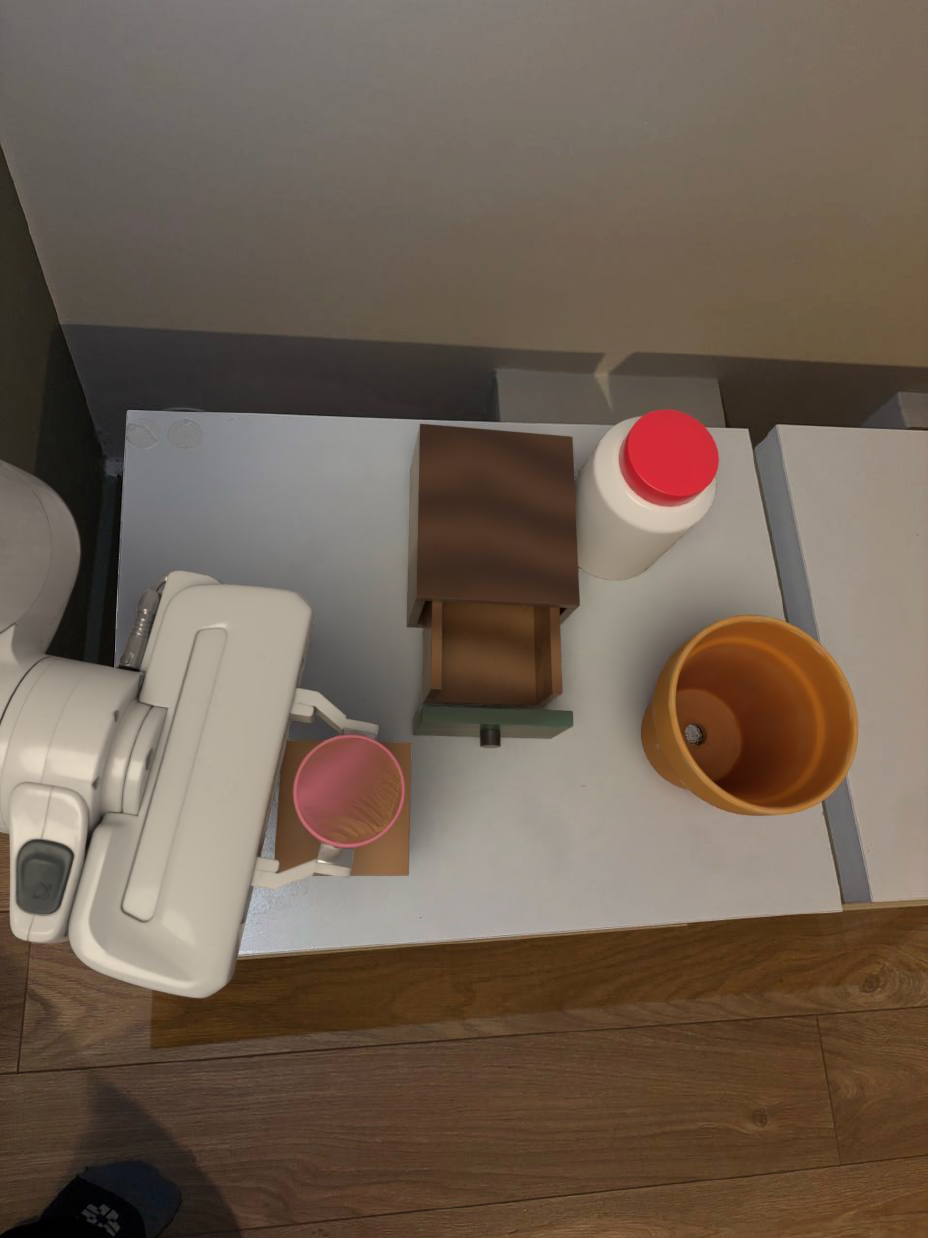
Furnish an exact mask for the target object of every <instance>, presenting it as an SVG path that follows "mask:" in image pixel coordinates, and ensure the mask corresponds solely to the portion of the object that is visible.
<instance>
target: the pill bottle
mask: <svg viewBox="0 0 928 1238" xmlns="http://www.w3.org/2000/svg"><path fill="white" fill-rule="evenodd" d="M719 463H720V457H719V450H718V446H717V443H716V441H715V439H714V437H713V435H712V434H711V433H710V431H709V430H708V428H707V427H706V426H705V425H704V424H703V423H702V422H700V421H699V420H698V419H696V418H695V417H693V416H692V415H690V414H688V413H686V412H683V411H679V410H675V409H669V408H666V409H657V410H653V411H649V412H648V413H646V414H644V415H640V416H634V417H630V418H627V419H624V420H621V421H620V422H618V423H615V424H614V425H613V426H612V427H610V429H608V430H607V431H606V432H605V433H604V435H602V437H601V438H600V440H599V442H597V444H596V446H595V447H594V449H593V451H592V452H591V454H590V455H589V457H588V459H587V460H586V461H585V463H584V464H583V466H582V467H581V469H580V471H579V472H578V474H577V476H575V478H574V481H575V504H576V528H577V551H578V568H580V569H581V570H582V571H584V572H586V573H587V574H589V575H591V576H594V577H595V578H600V579H604V580H609V581H623V580H629V579H632V578H634V577H639V575H641V574H643V573H644V572H646V571H647V570H648V569H650V567H652V566H653V565H654V564H655V563H656V562H657V561H658V560H659V559H660V558H662V556H664V555H665V554H666V553H667V552H668V551H669V550H670V549H671V548H672V547H673V546H675V545H676V544H677V543H678V542H679V541H680V540H681V539H682V538H683V537H684V536H685V535H686V534H687V533H689V532H690V530H692V529H693V528H694V527H695V526H697V524H698V523H699V522H701V520H702V519H703V518H704V517H705V516H706V515H707V514H708V512H709V510H710V509H711V508H712V505H713V502H714V500H715V497H716V494H717V493H716V492H717V485H718V482H717V473H718V469H719Z"/></svg>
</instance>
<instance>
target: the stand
mask: <svg viewBox="0 0 928 1238" xmlns="http://www.w3.org/2000/svg"><path fill="white" fill-rule="evenodd" d="M323 741H324V740H311V739H310V740H309V739H288V740H287V744H286V749H285V753H284V757H283V762H282V766H281V771H280V775H279V779H278V796H277V809H276V825H275V826H276V828H275V842H274V856H273V859H274V860H280V861H281V863H282V865H281V870H280V871H279V873H280V872H282V871H285V870H288V869H290V868H293V867H296V866H298V865H301V864H304V863H306V862H309V861H312V860H314V859H317V856H318V852H319V848H320V842H319V841H317V840H316V839H315V838H314V837H313V836H312V835H311V834H310V832H309V831H308V830H307V829H306V828H305V827H304V825H303V824H302V822H301V820H300V819H299V817H298V814H297V812H296V809H295V805H294V799H293V786H294V780H295V776H296V773H297V771H298V768H299V766H300V764H301V763H302V761H303V760H304V758H305V757H306V756H307V754H308V753H309V752H310V751H311V750H312V749H313V748H315V747H316V746H317V745H319V744H320V743H322V742H323ZM378 742H379V743H381V744H382V745H384V746H385V747H386V748H387V749H388V750H389V751H390V752H391V753H392V754H393V755H394V756H395V758H396V760H397V761H398V763H399V765H400V767H401V769H402V772H403V775H404V781H405V799H404V804H403V807H402V810H401V813H400V815H399V817H398V818H397V820H396V822H395V823H394V825H393V826H392V827H391V828H390V829H389V830H388V831H387V832H386V833H385V834H384V835H383V836H381V837H380V838H378V839H377V840H375V841H373V842H371V843H369V844H366V845H363V846H360V847H357V848H355V852H354V857H353V863H352V868H351V873H350V877H408V876H409V875H410V840H411V839H410V837H411V836H410V834H411V833H410V832H411V791H412V788H411V787H412V747H413V746H412V743H411V742H393V741H392V742H391V741H389V742H387V741H378ZM311 877H333V876H332V875H326V874H320V873H314V875H312V876H311Z"/></svg>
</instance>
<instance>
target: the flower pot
mask: <svg viewBox="0 0 928 1238" xmlns="http://www.w3.org/2000/svg"><path fill="white" fill-rule="evenodd" d="M858 717H859V716H858V709H857V705H856V702H855V698H854V695H853V692H852V689H851V685H850V684H849V681H848V679H847V677H846V675H845V674H844V671H843V670H842V669H841V667H840V665H839V664H838V662H836V660H835V659H834V657H833V656H832V655H831V653H829V651H828V650H827V648H825V647H824V646H823V645H822V644H821V643H820V642H819V641H818V640H816V639H815V638H814V637H813V636H811V635H810V634H809V633H807V632H806V631H804V630H802V629H801V628H799V627H798V626H796V625H794V624H792V623H790V622H787V621H786V620H783V619H779V618H776V617H772V616H768V615H761V614H740V615H734V616H730V617H726V618H722V619H719V620H718V621H715V622H713V623H711V624H709V625H708V626H706V627H704V628H703V629H701V630H700V631H699V632H697V633H695V634H694V635H693V636H691V637H690V638H688V639H687V640H685V642H684V643H682V644H681V645H680V646H679V647H678V648H677V649H676V650H675V651H674V652H673V653H672V654H671V656H670V657H669V658H668V660H666V662H665V663H664V666H663V667H662V669H661V671H660V673H659V676H658V677H657V680H656V684H655V687H654V693H653V697H652V700H651V702H650V703H649V705H648V706H647V709H646V710H645V713H644V715H643V718H642V722H641V733H640V734H641V743H642V747H643V751H644V754H645V756H646V759H647V760H648V762H649V764H650V765H651V767H652V768H653V769H654V771H655V772H656V773H657V774H658V775H659V777H661V778H662V779H664V780H665V781H667V782H668V783H670V784H671V785H673V786H676V787H678V788H680V789H683V790H686V791H689V792H691V793H692V794H693V795H694V796H695V797H697V798H699V799H700V800H702V801H703V802H704V803H707V804H709V805H710V806H712V807H715V808H716V809H719V810H722V811H725V812H727V813H731V814H735V815H741V816H750V817H751V816H752V817H768V816H783V815H792V814H795V813H796V814H797V813H800V812H803V811H806V810H808V809H810V808H813V807H816V806H817V805H819V804H821V803H822V802H823V801H825V800H826V799H827V798H828V797H830V796H831V795H832V794H834V792H835V791H836V790H837V789H838V788H839V786H840V785H841V784H842V783H843V782H844V780H845V778H846V777H847V775H848V773H849V771H850V769H851V766H852V765H853V763H854V760H855V756H856V752H857V747H858V742H859V741H858V740H859V718H858ZM690 725H692V726H696V727H697V728H699V730H700V731H701V732H702V738H701V739H702V740H701V741H700V742H699V744H694V743H691V742H690V741H689V740H688V738H687V737H686V731H687V727H688V726H690Z"/></svg>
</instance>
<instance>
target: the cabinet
mask: <svg viewBox="0 0 928 1238" xmlns="http://www.w3.org/2000/svg"><path fill="white" fill-rule="evenodd" d="M415 442H416V443H415V446H414V451H413V454H412V460H411V465H410V470H409V507H408V508H409V510H408V512H409V513H408V544H407V545H408V546H407V547H408V549H407V551H408V552H407V554H408V555H407V593H406V594H407V595H406V628H414V629H415V628H416V629H417V628H418V629H419V628H420V629H424V604H425V601H442V602H462V603H481V604H500V605H520V606H539V607H558V608H559V609H560V626H562V624H563V623H564V622H565V621H566V620H568V618H569V617H571V615H572V614H573V613H574V612H575V611H576V610H577V609H578V608H579V607H580V606H581V602H580V601H581V599H580V579H579V578H580V576H579V575H580V574H579V567H578V551H577V528H576V504H575V481H574V480H575V460H574V438H573V436H570V435H558V434H547V433H537V432H536V433H533V432H523V431H511V430H501V429H489V428H478V427H477V428H475V427H466V426H465V427H464V426H454V425H453V426H452V425H442V424H429V423H419V427H418V432H417V436H416V441H415Z"/></svg>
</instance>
